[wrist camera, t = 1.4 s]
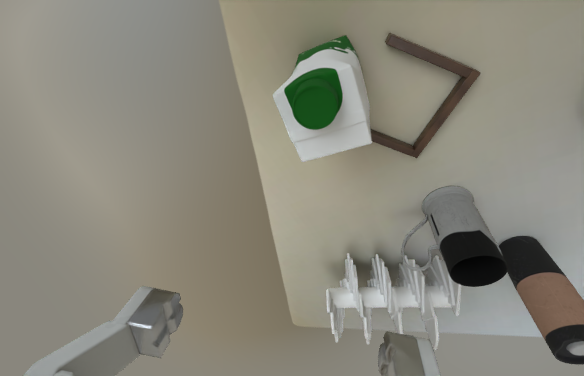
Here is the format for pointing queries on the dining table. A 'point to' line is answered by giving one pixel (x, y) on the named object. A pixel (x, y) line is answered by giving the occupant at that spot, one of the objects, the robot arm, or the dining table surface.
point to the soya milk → (326, 101)
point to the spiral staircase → (394, 295)
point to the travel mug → (547, 297)
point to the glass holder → (461, 238)
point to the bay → (447, 107)
